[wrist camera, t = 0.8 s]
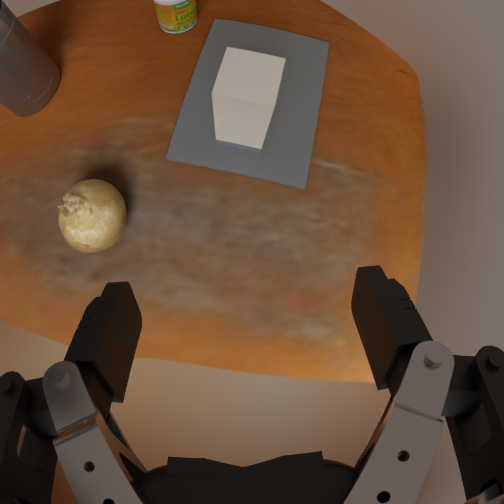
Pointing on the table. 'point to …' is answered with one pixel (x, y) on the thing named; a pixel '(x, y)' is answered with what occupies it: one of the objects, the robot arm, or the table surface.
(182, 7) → the supplement bottle
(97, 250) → the onion
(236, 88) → the tall block
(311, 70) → the mat
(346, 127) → the table surface
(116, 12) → the table surface
